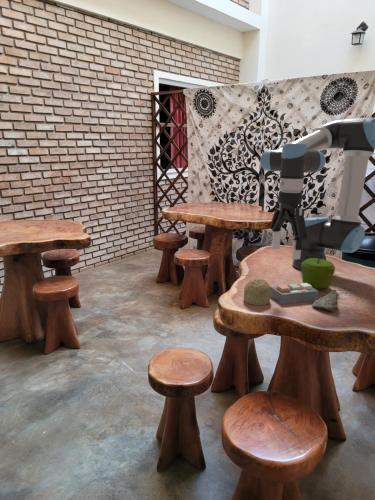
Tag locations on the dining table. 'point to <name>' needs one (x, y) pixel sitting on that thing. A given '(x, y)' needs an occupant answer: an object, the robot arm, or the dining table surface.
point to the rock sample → (327, 302)
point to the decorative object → (257, 292)
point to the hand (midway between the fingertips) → (285, 253)
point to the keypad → (294, 295)
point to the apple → (317, 272)
